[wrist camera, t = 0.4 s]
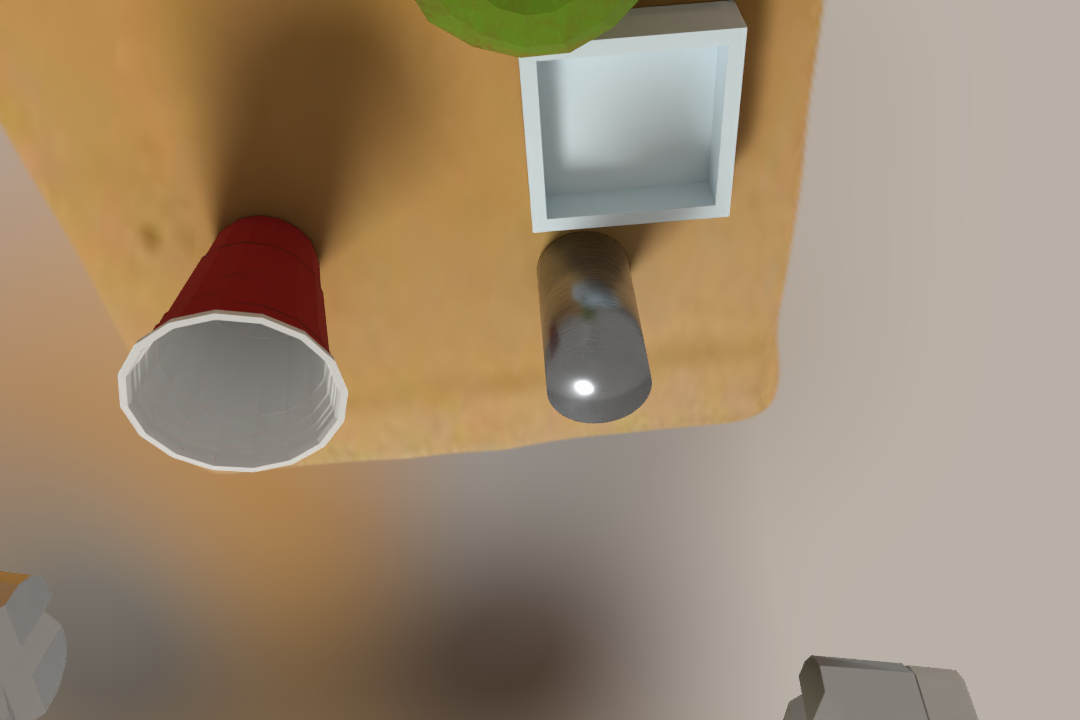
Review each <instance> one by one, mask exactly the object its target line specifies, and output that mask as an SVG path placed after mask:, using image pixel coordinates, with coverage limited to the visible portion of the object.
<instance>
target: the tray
mask: <svg viewBox="0 0 1080 720" xmlns="http://www.w3.org/2000/svg"><path fill="white" fill-rule="evenodd" d="M746 37H747V25H746V23H745V21H744V19H743V17H742V15H741V13H740V11H739V9H738V7H737V5H736V3H735V1H734V0H727V1H715V2H703V3H691V4H680V5H668V6H656V7H644V8H632V9H630V10H629V11H628V12H627V14H626V15H625V16H624V17H623V18H622V19H621V20H620V21H619V22H618V23H617V24H616V25H615V26H614V27H613V28H612V29H610V30H608V31H606V32H605V33H603V34H601V35H600V36H598V37H596V38H595V39H593V40H591V41H589V42H588V43H586V44H584V45H583V46H581V47H579V48H577V49H576V50H574V51H572V52H571V53H563V54H553V55H544V56H534V57H524V58H520V57H519V69H520V81H521V93H522V105H523V118H524V130H525V142H526V155H527V167H528V179H529V191H530V204H531V215H532V227H533V233H536V232H548V231H560V230H572V229H584V228H596V227H608V226H620V225H632V224H644V223H656V222H668V221H680V220H692V219H705V218H717V217H729V213H730V203H731V192H732V182H733V172H734V161H735V151H736V141H737V130H738V120H739V109H740V99H741V89H742V78H743V68H744V58H745V47H746Z"/></svg>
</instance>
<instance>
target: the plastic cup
mask: <svg viewBox="0 0 1080 720" xmlns="http://www.w3.org/2000/svg"><path fill="white" fill-rule="evenodd" d="M118 384H119V398H120V407H121V408H122V410H123V411H124V413H125V414H126V416H127V417H128V419H129V420H130V422H131V423H132V425H133V426H134V428H135V429H136V430H137V432H138V433H139V435H140V436H141V437H143V438H144V439H146V440H148V441H149V442H150V443H152V444H153V445H155V446H156V447H158V448H159V449H161V450H162V451H164V452H165V453H167V454H168V455H170V456H171V457H173V458H176V459H179V460H183V461H186V462H189V463H192V464H195V465H198V466H201V467H205V468H208V469H211V470H224V471H243V472H257V471H262V470H267V469H272V468H276V467H281V466H286V465H291V464H294V463H296V462H298V461H300V460H301V459H303V458H305V457H307V456H309V455H310V454H312V453H314V452H316V451H317V450H319V449H321V448H323V447H325V445H326V444H327V443H328V442H329V440H330V439H331V438H332V436H333V435H334V434H335V433H336V431H337V430H338V429H339V427H340V426H341V425H342V423H343V422H344V419H345V411H346V404H347V397H348V390H347V388H346V385H345V383H344V381H343V378H342V376H341V374H340V371H339V369H338V367H337V364H336V362H335V360H334V357H333V356H332V355H331V354H330V351H329V345H328V336H327V326H326V317H325V307H324V298H323V291H322V289H321V283H320V268H319V261H318V259H317V255H316V252H315V250H314V248H313V245H312V243H311V241H310V240H309V239H308V238H307V237H306V236H305V235H304V234H303V233H302V232H301V231H300V230H299V229H298V228H297V227H295V226H293V225H291V224H289V223H287V222H285V221H283V220H281V219H278V218H272V217H265V216H253V217H247V218H241V219H239V220H237V221H235V222H234V223H232V224H230V225H229V226H227V227H226V228H225V229H224V230H223V231H222V232H220V233H219V235H218V236H217V238H216V240H215V241H214V243H213V244H212V246H211V248H210V249H209V251H208V253H207V254H206V255H205V256H203V257H202V259H201V260H200V262H199V263H198V265H197V266H196V268H195V270H194V271H193V273H192V274H191V276H190V278H189V279H188V281H187V282H186V284H185V286H184V287H183V289H182V290H181V292H180V294H179V295H178V297H177V298H176V300H175V301H174V303H173V305H172V306H171V308H170V309H169V311H168V312H167V313H165V314H164V316H163V317H162V319H161V321H160V323H159V324H157V325H156V326H155V328H154V329H153V331H152V332H150V333H148V334H147V335H145V336H144V337H142V338H141V339H139V340H138V341H137V342H136V344H135V345H134V346H133V348H132V350H131V352H130V354H129V355H128V357H127V359H126V361H125V363H124V364H123V366H122V368H121V370H120V371H119V373H118Z"/></svg>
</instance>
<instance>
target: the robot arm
mask: <svg viewBox="0 0 1080 720" xmlns="http://www.w3.org/2000/svg"><path fill="white" fill-rule="evenodd" d="M51 599H52V596H51V593H50V591H49V588H48V586H47V583H46V581H45V578H44V577H42V576H34V575H26V574H19V573H11V572H3V571H0V720H35V719H37V718H38V717H40V716H41V715H43V714H44V713H45V712H46V711H47V709H48V707H49V705H50V703H51V702H52V700H53V698H54V696H55V694H56V692H57V690H58V689H59V685H60V682H61V678H62V675H63V671H64V667H65V664H66V660H67V659H66V638H65V635H64V632H63V628H62V625H61V624H60V623H58V622H57V621H56V620H55V619H53V618H52V617H51V616H50V615H49V614H47V613H46V612H45V611H44V610H45V609H46V607H47V605H48V604H49V602H50V601H51ZM799 680H800V686H801V692H802V695H800V696H798V697H797V698H795V699H793V700H791V701H790V702H789V704H788V707H787V709H786V713H785V716H784V719H783V720H978V717H977V714H976V712H975V709H974V706H973V703H972V700H971V698H970V695H969V692H968V689H967V687H966V684H965V681H964V679H963V678H962V677H961V676H960V675H959V673H958V672H957V671H956V670H950V669H941V668H930V667H920V666H910V665H906V666H904V665H903V664H902V663H891V662H880V661H869V660H858V659H847V658H836V657H825V656H814V655H811V656H810V657H809V658H808V659H807V660H806V661H805V662H804V665H803V667H802V670H801V672H800V674H799Z"/></svg>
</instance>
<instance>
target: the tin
mask: <svg viewBox="0 0 1080 720" xmlns="http://www.w3.org/2000/svg"><path fill="white" fill-rule="evenodd" d="M537 279H538V291H539V303H540V315H541V326H542V338H543V350H544V362H545V374H546V385H547V395H548V399H549V401H550V403H551V405H552V406H553V407H554V408H555V410H557V411H558V412H559V413H560V414H562V415H563V416H565V417H567V418H569V419H572V420H575V421H578V422H584V423H605V422H610V421H614V420H618V419H620V418H623V417H625V416H627V415H629V414H631V413H632V412H634V411H635V410H637V409H638V408H639V407H640V406H641V405H642V404H643V403H644V402H645V400H646V399H647V398H648V396H649V394H650V390H651V385H652V380H651V374H650V369H649V364H648V359H647V354H646V349H645V344H644V339H643V334H642V329H641V324H640V319H639V314H638V309H637V304H636V299H635V293H634V288H633V283H632V278H631V273H630V268H629V263H628V259H627V255H626V253H625V251H624V249H623V248H622V246H621V245H620V244H619V243H618V242H616V241H615V240H614V239H612V238H611V237H609V236H606V235H604V234H601V233H596V232H588V231H587V232H575V233H571V234H568V235H565V236H562V237H560V238H558V239H557V240H555V241H554V242H552V243H551V244H550V245H549V246H548V247H547V248H546V249H545V250H544V251H543V253H542V254H541V256H540V258H539V261H538V265H537Z"/></svg>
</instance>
